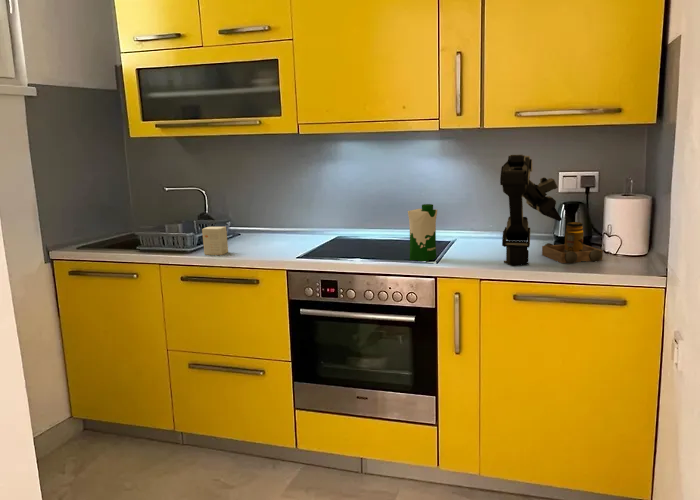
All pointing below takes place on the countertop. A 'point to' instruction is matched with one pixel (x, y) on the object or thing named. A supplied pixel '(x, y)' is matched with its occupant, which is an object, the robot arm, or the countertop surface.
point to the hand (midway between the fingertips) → (556, 217)
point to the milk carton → (423, 233)
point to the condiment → (574, 237)
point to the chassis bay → (571, 253)
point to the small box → (215, 240)
